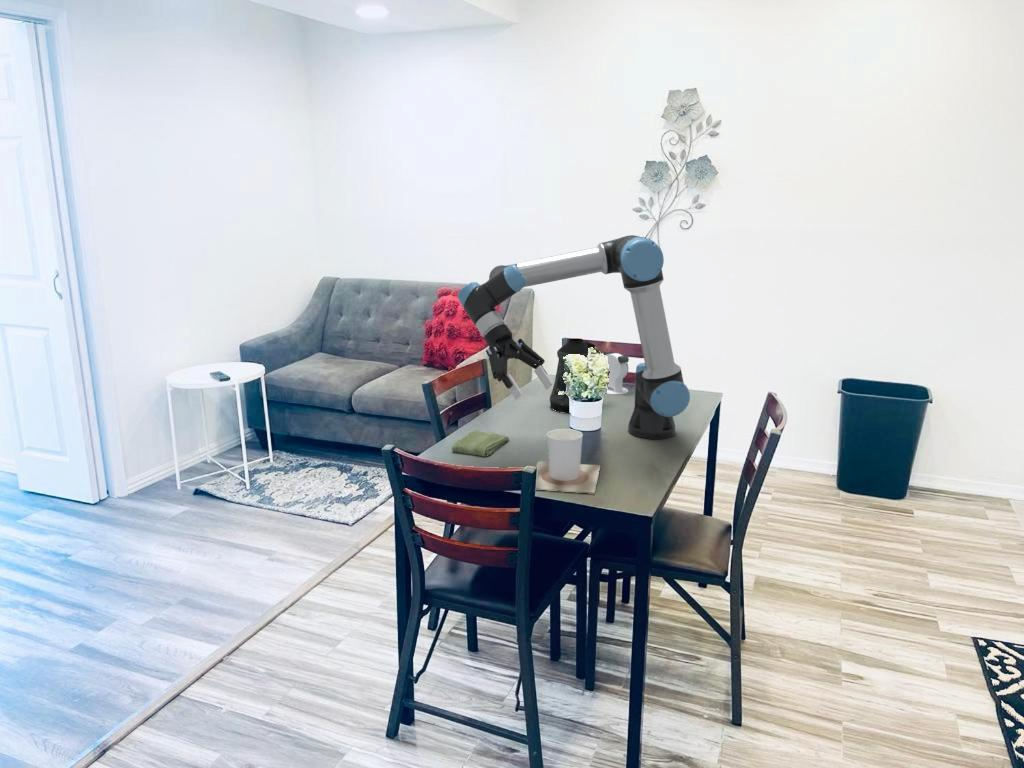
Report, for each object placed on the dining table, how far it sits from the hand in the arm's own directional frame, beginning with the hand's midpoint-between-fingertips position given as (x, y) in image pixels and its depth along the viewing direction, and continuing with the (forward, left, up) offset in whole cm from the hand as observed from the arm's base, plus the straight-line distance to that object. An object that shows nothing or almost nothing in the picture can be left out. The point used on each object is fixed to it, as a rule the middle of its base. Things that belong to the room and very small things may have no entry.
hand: (534, 391), depth 210 cm
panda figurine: (-17, -88, -23) cm, 93 cm away
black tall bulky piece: (-4, -64, -23) cm, 68 cm away
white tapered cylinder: (-9, +6, -22) cm, 25 cm away
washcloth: (+19, -16, -23) cm, 34 cm away
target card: (-9, +6, -23) cm, 25 cm away
